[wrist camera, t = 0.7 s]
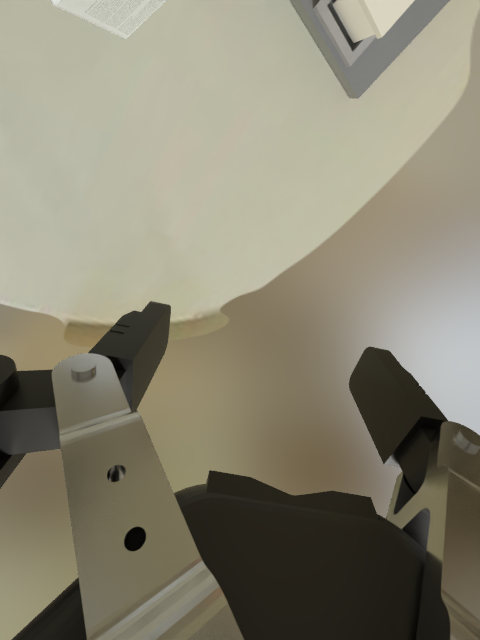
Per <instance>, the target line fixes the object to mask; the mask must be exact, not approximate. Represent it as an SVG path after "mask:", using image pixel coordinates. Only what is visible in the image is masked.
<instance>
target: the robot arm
mask: <svg viewBox="0 0 480 640" xmlns="http://www.w3.org/2000/svg"><path fill="white" fill-rule="evenodd" d="M170 314H171V306H170V305H167V304H162V303H157V302H152V301H151V302H149V304H148V305H147V306H146V307H145V308H144V310H143V311H142V312H138V311H132V312H130V313H128V314H126V315H124V316H122V317H121V318H120V319H119V320H118V321H117V322H116V324H115V325H114V326H113V327H112V328H111V329H110V331H108V332H107V333H106V334H105V335H104V336H103V337H102V339H101V340H100V341H99V342H98V343H97V344H96V345H95V346H94V347H93V348H92V349H91V350H90V351H89V353H86V354H78V355H74V356H71V357H68V358H66V359H64V360H62V361H61V362H59V363H58V364H57V365H56V366H55V367H54V369H53V370H38V371H37V370H35V371H17V369H16V365H15V363H14V361H13V360H12V359H11V358H9V357H7V356H3V355H0V488H1V487H2V485H3V484H4V483H5V481H6V480H7V479H8V477H9V476H10V475H11V473H12V472H13V471H14V469H15V468H16V467H17V465H18V464H19V463H20V461H21V460H22V459H23V457H24V456H25V454H26V453H30V452H37V451H46V450H53V449H61V452H62V460H63V467H64V475H65V482H66V489H67V496H68V504H69V511H70V518H71V526H72V533H73V540H74V547H75V555H76V561H77V569H78V578H77V579H76V580H75V581H74V582H73V583H72V584H71V585H70V586H68V587H67V588H66V589H65V590H64V591H63V592H62V593H61V594H60V595H59V596H58V597H57V598H56V599H55V600H53V602H51V603H50V604H49V605H48V606H47V607H46V608H45V609H44V610H43V611H42V612H41V613H40V614H38V615H37V617H35V618H34V619H33V620H32V621H31V622H30V623H29V624H28V625H27V626H26V627H25V628H23V630H21V631H20V632H19V633H18V634H17V635H16V636H15V637H14V638H13V639H12V640H480V435H478V434H477V433H476V432H474V431H473V430H471V429H469V428H467V427H465V426H464V425H461V424H459V423H455V422H451V421H448V420H447V418H446V417H445V416H444V415H443V413H442V412H441V411H440V410H439V408H438V407H437V406H436V405H435V404H434V402H433V401H432V400H431V399H430V397H429V396H428V395H427V394H425V391H424V390H423V389H422V387H421V386H419V384H418V382H417V381H416V380H415V379H414V377H413V376H412V375H411V374H410V373H409V372H408V371H406V370H405V369H404V368H403V367H402V366H401V365H400V364H399V362H398V361H397V360H396V358H395V357H394V356H393V355H392V353H391V352H390V351H388V350H384V349H378V348H374V347H368V348H366V349H365V350H364V352H363V354H362V356H361V358H360V360H359V361H358V363H357V365H356V367H355V369H354V371H353V373H352V375H351V377H350V381H349V388H350V391H351V393H352V396H353V398H354V400H355V402H356V404H357V407H358V408H359V411H360V413H361V415H362V418H363V420H364V422H365V424H366V426H367V428H368V431H369V433H370V435H371V437H372V439H373V441H374V444H375V446H376V448H377V450H378V453H379V455H380V457H381V459H382V461H383V464H384V465H390V466H395V467H401V469H402V472H401V473H400V474H399V476H398V477H397V479H396V483H395V487H394V490H393V494H392V498H391V501H390V505H389V509H388V513H387V516H386V519H385V518H383V517H382V516H380V515H378V514H376V510H375V508H374V505H373V503H372V500H371V497H366V496H360V495H354V494H348V493H342V492H336V491H328V492H320V493H313V494H306V495H298V496H294V495H290V494H287V493H285V492H283V491H280V490H278V489H276V488H274V487H271V486H269V485H267V484H265V483H262V482H260V481H258V480H256V479H253V478H251V477H246V476H240V475H234V474H228V473H222V472H217V471H209V475H208V479H207V482H206V484H202V485H196V486H192V487H188V488H185V489H183V490H181V491H178V492H176V493H173V490H172V488H171V486H170V483H169V481H168V479H167V476H166V474H165V472H164V469H163V467H162V464H161V462H160V460H159V457H158V455H157V453H156V450H155V448H154V446H153V443H152V441H151V438H150V436H149V434H148V431H147V429H146V427H145V424H144V422H143V419H142V417H141V415H140V413H139V412H138V411H137V408H138V406H139V403H140V402H141V399H142V398H143V396H144V394H145V391H146V390H147V387H148V386H149V384H150V382H151V380H152V377H153V376H154V373H155V371H156V369H157V367H158V365H159V363H160V361H161V359H162V357H163V355H164V353H165V350H166V347H167V343H168V335H169V325H170Z"/></svg>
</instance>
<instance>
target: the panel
mask: <svg viewBox="0 0 480 640" xmlns="http://www.w3.org/2000/svg"><path fill="white" fill-rule="evenodd" d="M335 1H336V0H290V2H291V3H292V5H293V7H294V8H295V10H296V12H297V13H298V15H299V17H300V18H301V20H302V21H303V23H304V25H305V26H306V28H307V30H308V31H309V33H310V35H311V36H312V38H313V39H314V41H315V43H316V44H317V46H318V48H319V49H320V51H321V52H322V54H323V56H324V57H325V59H326V61H327V62H328V64H329V66H330V67H331V69H332V70H333V72H334V74H335V75H336V77H337V79H338V80H339V82H340V83H341V85H342V87H343V88H344V90H345V92H346V93H347V95H348V97H349V98H359V97H360V96H361V95H362V94H363V93H364V92H365V91H366V90H367V89H368V88H369V87H370V85H371V84H372V83H373V82H374V81H375V80H376V79H377V78H378V77H379V76H380V75H381V74H382V73H383V72H384V71H385V69H386V68H387V67H388V66H389V65H390V64H391V63H392V62H393V61H394V60H395V59H396V58H397V57H398V56H399V54H400V53H401V52H402V51H403V50H404V49H405V48H406V47H407V46H408V45H409V44H410V43H411V42H412V41H413V39H414V38H415V37H416V36H417V35H418V34H419V33H420V32H421V31H422V30H423V29H424V28H425V27H426V26H427V25H428V23H429V22H430V21H431V20H432V19H433V18H434V17H435V16H436V15H437V14H438V13H439V12H440V11H441V10H442V8H443V7H444V6H445V5H446V4H447V3H448V2H449V1H450V0H415V1H414V2H413V3H412V4H411V5H410V6H409V7H408V8H407V10H406V11H405V12H404V13H403V14H402V15H401V16H400V18H399V19H398V20H397V21H396V22H395V23H394V24H393V26H392V27H391V28H390V29H389V30H388V31H387V32H386V34H385V35H384V36H383V37H382V38H379V39H377V38H376V36H375V35H372V36H370V37H367V38H365V39H362V40H360V41H358V42H355V43H353V42H352V40H351V38H350V36H349V34H348V32H347V31H346V29H345V27H344V25H343V23H342V21H341V20H340V18H339V16H338V14H337V12H336V11H335V9H334V7H333V3H334V2H335Z"/></svg>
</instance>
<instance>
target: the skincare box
mask: <svg viewBox="0 0 480 640" xmlns="http://www.w3.org/2000/svg"><path fill="white" fill-rule="evenodd" d="M50 1H51V3H52V4H53V5H54V6H55V7H57V8H59V9H62V10H64V11H66V12H69V13H71V14H73V15H75V16H77V17H79V18H82V19H84V20H86V21H88V22H90V23H92V24H94V25H96V26H99V27H101V28H103V29H105V30H107V31H109V32H111V33H113V34H115V35H117V36H120V37H122V38H124V39H127V38H128V37H129V36H130V35H131V34H132V33H133V32H134V31H135V30H136V29H137V28H138V27H139V26H140V25H141V24H142V23H144V22H145V21H146V20H147V19H148V18H149V17H150V16H151V15H152V14H153V13H154V12H155V11H156V10H157V9H158V8H159V7H160V6H161V5H162V4H163V3H164V2H165V1H166V0H50Z"/></svg>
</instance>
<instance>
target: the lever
mask: <svg viewBox="0 0 480 640" xmlns="http://www.w3.org/2000/svg"><path fill="white" fill-rule="evenodd" d="M414 1H415V0H336V1H335V2H334V3H333V7H334V9H335V11H336V12H337V14H338V16H339V18H340V20H341V21H342V23H343V25H344V27H345V29H346V31H347V32H348V34H349V36H350V38H351V40H352V42H353V43H355V42H358V41H360V40H362V39H365V38H367V37H370V36H372V35H375V36H376V38H377V39H379V38H382V37H383V36H384V35H385V34H386V32H387V31H388V30H389V29H390V28H391V27H392V26H393V24H394V23H395V22H396V21H397V20H398V19H399V18H400V16H401V15H402V14H403V13H404V12H405V11H406V10H407V8H408V7H409V6H410V5H411V4H412V3H413V2H414Z"/></svg>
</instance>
